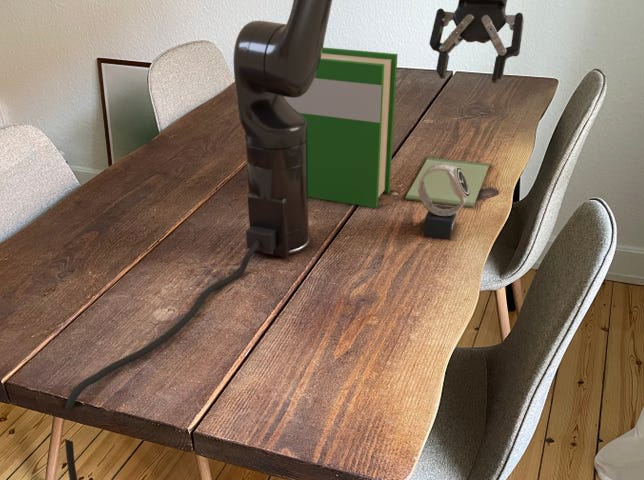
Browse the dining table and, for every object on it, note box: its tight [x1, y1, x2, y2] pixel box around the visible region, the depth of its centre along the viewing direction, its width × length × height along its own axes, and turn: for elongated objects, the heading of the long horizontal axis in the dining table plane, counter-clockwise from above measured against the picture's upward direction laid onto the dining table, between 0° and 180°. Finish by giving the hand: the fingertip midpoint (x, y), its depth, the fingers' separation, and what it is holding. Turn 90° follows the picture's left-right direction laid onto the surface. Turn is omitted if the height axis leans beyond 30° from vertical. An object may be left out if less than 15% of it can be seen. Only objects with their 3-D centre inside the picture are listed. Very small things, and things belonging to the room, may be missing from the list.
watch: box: [418, 164, 470, 240], centre depth 121 cm, size 6×8×11 cm
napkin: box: [404, 157, 490, 208], centre depth 140 cm, size 20×12×1 cm, turn 160°
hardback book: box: [284, 46, 398, 209], centre depth 131 cm, size 18×7×24 cm, turn 65°
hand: (468, 79), depth 123 cm, fingers open, 8 cm apart
